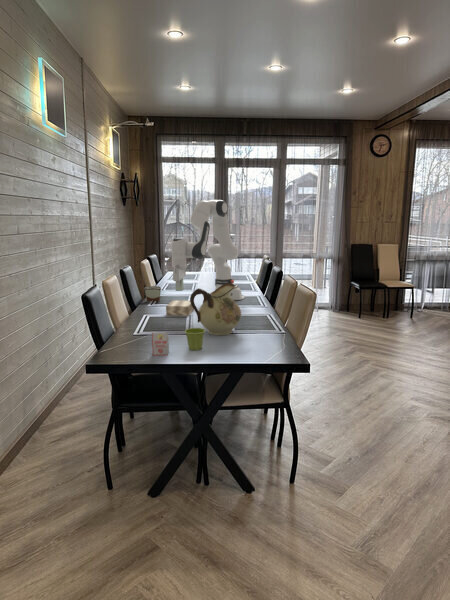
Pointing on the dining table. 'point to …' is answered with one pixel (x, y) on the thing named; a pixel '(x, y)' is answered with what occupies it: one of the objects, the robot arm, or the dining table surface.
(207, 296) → the pitcher
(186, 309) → the birch riser block
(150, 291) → the food container
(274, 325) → the dining table surface
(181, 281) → the sage block
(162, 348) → the white printed box
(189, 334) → the plant pot
